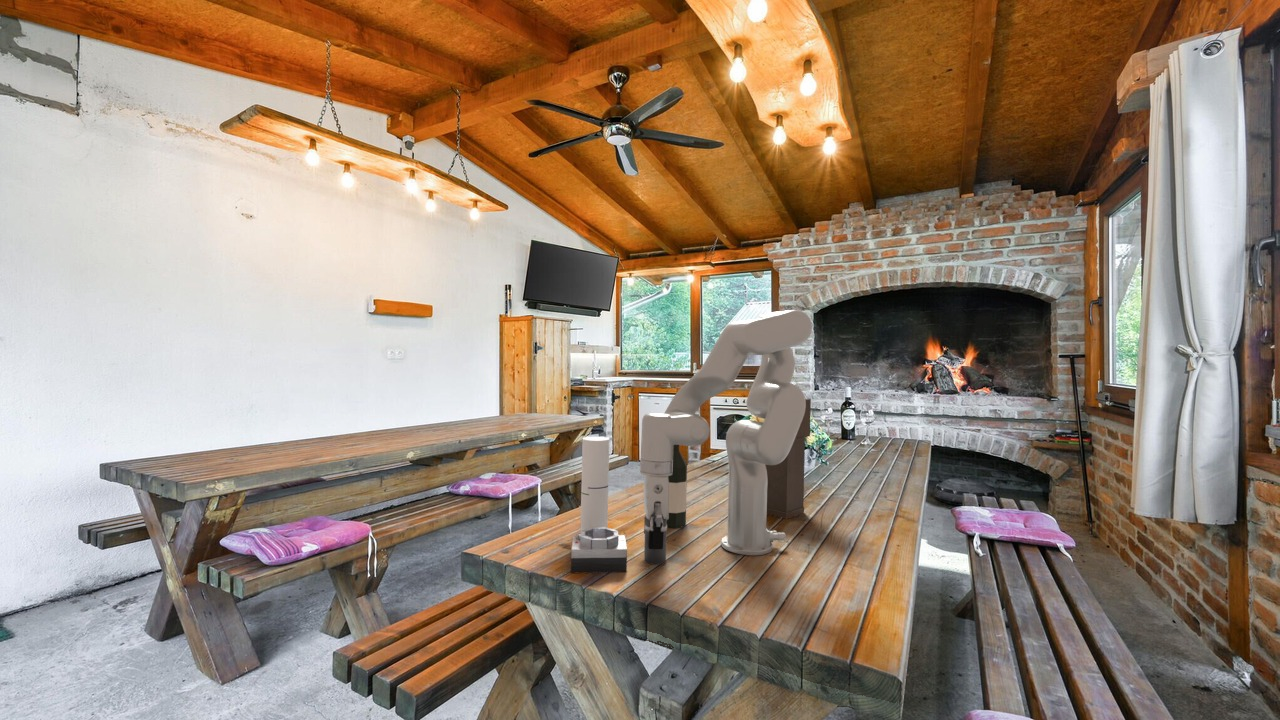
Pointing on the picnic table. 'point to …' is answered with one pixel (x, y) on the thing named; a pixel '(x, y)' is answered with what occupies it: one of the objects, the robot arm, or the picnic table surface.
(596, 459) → the cylindrical container
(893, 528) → the picnic table surface
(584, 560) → the octagonal metal flange
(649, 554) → the flashlight
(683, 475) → the wine bottle
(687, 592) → the picnic table surface
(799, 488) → the brown footed pillar
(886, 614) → the picnic table surface
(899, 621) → the picnic table surface
